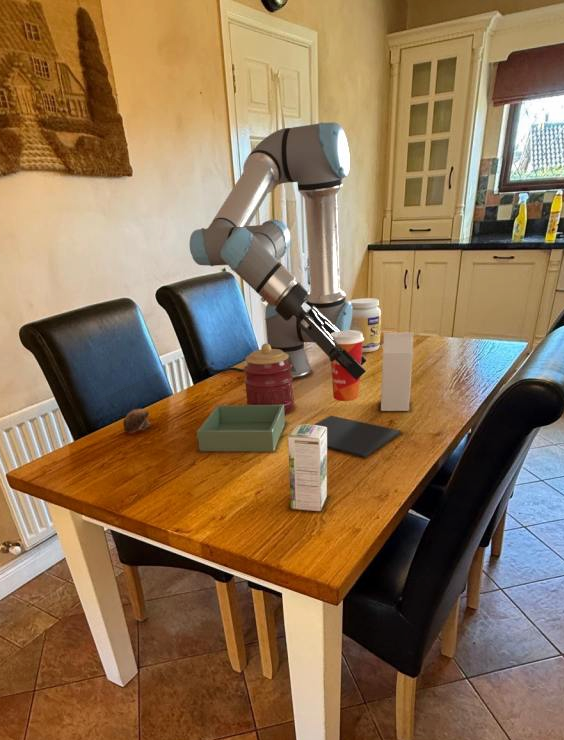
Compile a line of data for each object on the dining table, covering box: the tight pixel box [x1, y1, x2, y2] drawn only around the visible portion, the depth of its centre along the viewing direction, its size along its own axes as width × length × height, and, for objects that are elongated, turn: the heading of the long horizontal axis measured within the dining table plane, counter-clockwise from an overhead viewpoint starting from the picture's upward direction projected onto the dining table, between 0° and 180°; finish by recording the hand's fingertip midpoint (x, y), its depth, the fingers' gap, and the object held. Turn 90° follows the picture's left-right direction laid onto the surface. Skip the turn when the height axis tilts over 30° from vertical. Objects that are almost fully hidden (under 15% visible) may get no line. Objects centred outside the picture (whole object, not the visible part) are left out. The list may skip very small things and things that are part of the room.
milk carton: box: [380, 331, 414, 412], centre depth 131 cm, size 7×7×19 cm
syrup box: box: [287, 424, 328, 512], centre depth 92 cm, size 6×6×14 cm
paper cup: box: [330, 330, 364, 402], centre depth 113 cm, size 8×8×14 cm
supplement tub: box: [349, 297, 382, 354], centre depth 185 cm, size 12×12×17 cm
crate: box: [196, 404, 286, 453], centre depth 125 cm, size 18×18×5 cm
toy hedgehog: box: [122, 408, 153, 434], centre depth 133 cm, size 8×8×6 cm
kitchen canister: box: [242, 342, 295, 414], centre depth 137 cm, size 13×13×18 cm
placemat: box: [313, 415, 401, 459], centre depth 122 cm, size 20×16×1 cm
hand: (361, 369), depth 113 cm, fingers closed on paper cup, 8 cm apart
